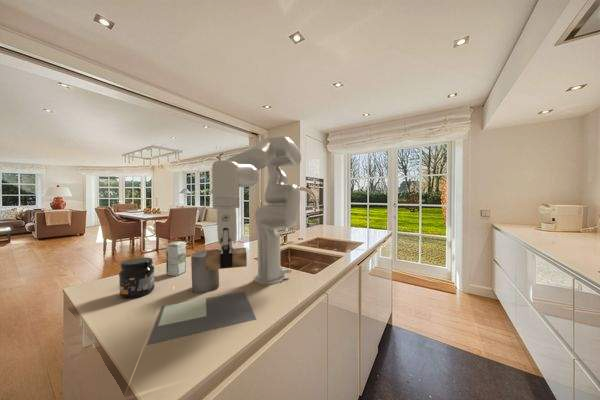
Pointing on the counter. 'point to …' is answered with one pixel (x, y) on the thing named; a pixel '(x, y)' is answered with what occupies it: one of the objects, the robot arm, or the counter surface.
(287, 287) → the counter surface
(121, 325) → the counter surface
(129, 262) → the supplement container
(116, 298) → the counter surface
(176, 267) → the syrup box
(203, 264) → the pillar candle
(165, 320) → the mat
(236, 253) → the brown rectangular block
